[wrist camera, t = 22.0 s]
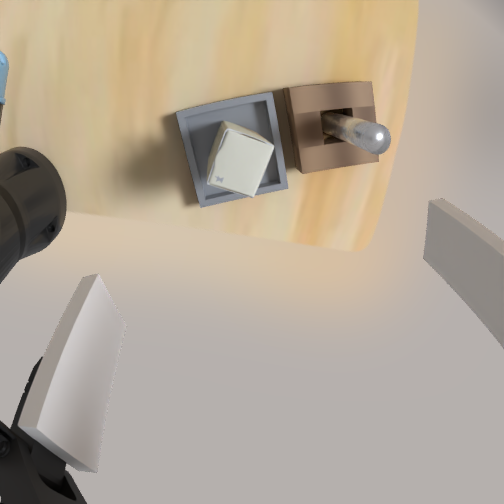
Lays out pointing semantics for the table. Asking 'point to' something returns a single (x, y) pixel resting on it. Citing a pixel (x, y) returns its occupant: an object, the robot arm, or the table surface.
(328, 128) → the pin
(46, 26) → the table surface
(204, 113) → the tray
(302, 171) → the brown block with hole
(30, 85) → the table surface
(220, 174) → the box
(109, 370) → the robot arm
